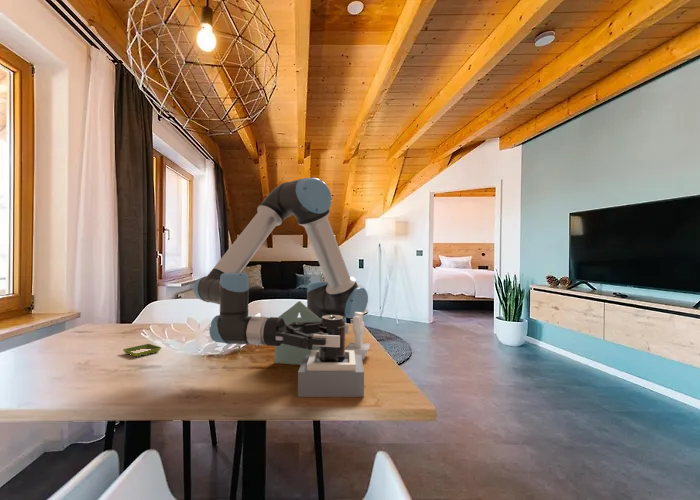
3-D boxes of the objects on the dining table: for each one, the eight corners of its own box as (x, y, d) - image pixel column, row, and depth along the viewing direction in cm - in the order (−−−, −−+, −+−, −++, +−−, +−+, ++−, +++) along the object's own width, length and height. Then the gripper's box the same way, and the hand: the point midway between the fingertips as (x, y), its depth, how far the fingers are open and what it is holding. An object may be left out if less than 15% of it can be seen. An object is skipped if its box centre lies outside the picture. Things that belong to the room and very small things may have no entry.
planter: (330, 358, 111) (331, 298, 111) (324, 367, 103) (324, 302, 103) (284, 355, 114) (284, 297, 114) (274, 363, 106) (274, 300, 107)
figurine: (371, 353, 117) (371, 310, 117) (366, 362, 108) (367, 315, 108) (351, 352, 118) (351, 309, 118) (344, 360, 109) (345, 314, 109)
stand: (304, 375, 96) (304, 349, 96) (361, 375, 96) (361, 349, 96) (297, 396, 82) (298, 365, 82) (363, 396, 82) (364, 365, 82)
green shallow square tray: (162, 353, 117) (162, 347, 117) (135, 360, 110) (135, 353, 110) (148, 349, 122) (148, 343, 122) (122, 355, 114) (122, 349, 114)
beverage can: (344, 358, 93) (344, 314, 93) (345, 366, 86) (345, 319, 86) (319, 358, 92) (319, 314, 92) (318, 367, 85) (318, 319, 85)
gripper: (283, 333, 104) (351, 337, 101) (246, 359, 79) (334, 364, 76) (283, 309, 104) (351, 311, 101) (246, 327, 79) (334, 331, 76)
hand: (344, 334), depth 88 cm, fingers open, 13 cm apart
